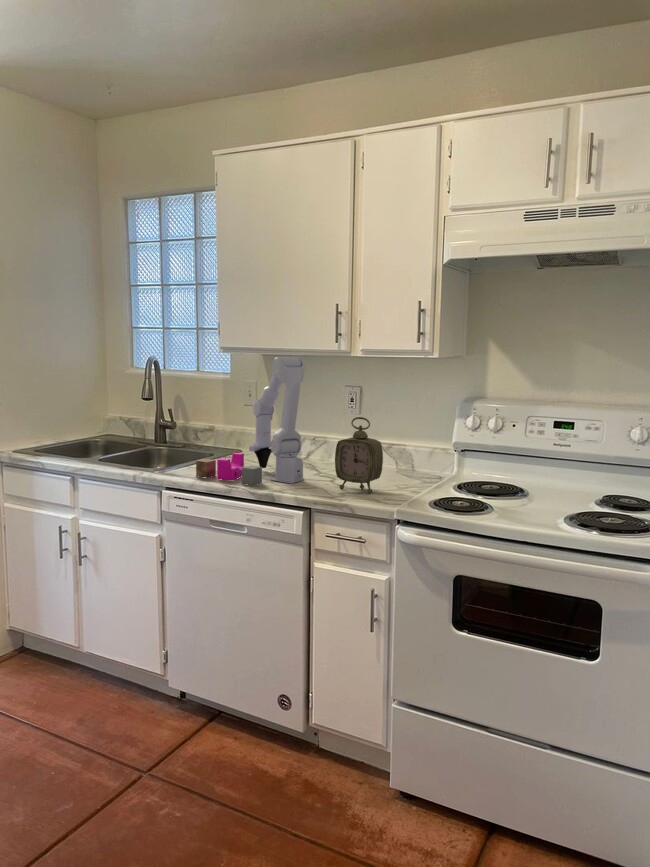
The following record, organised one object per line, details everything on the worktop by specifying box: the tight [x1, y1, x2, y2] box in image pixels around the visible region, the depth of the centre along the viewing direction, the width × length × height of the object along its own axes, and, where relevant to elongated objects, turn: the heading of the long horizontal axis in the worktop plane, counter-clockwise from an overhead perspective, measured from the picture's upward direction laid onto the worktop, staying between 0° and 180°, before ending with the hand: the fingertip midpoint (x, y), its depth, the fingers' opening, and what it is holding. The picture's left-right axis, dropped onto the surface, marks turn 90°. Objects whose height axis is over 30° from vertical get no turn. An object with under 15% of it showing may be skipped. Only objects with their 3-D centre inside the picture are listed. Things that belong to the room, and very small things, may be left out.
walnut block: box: [195, 458, 217, 479], centre depth 242 cm, size 5×5×6 cm
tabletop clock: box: [334, 416, 384, 494], centre depth 224 cm, size 14×9×25 cm, turn 59°
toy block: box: [216, 452, 245, 481], centre depth 243 cm, size 15×6×8 cm, turn 164°
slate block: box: [241, 464, 263, 486], centre depth 231 cm, size 5×5×6 cm
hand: (263, 467), depth 254 cm, fingers closed
